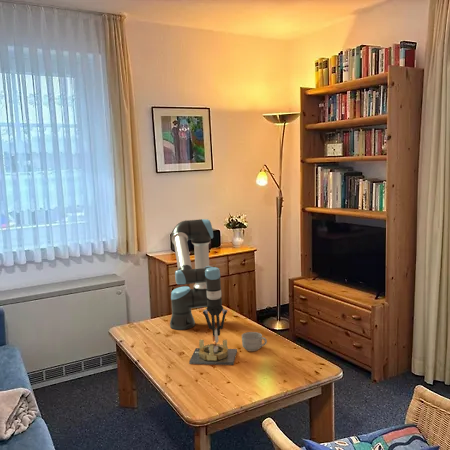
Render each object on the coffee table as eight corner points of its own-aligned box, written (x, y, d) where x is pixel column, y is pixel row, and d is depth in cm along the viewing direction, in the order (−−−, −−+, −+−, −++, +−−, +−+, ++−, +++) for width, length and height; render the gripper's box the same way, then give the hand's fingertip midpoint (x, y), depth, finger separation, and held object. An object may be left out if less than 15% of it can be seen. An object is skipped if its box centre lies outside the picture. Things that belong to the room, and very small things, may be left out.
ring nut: (201, 348, 252) (201, 334, 251) (229, 348, 250) (228, 335, 249) (197, 360, 238) (196, 346, 237) (226, 360, 236) (225, 346, 235)
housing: (195, 350, 254) (195, 340, 253) (237, 351, 250) (236, 341, 250) (189, 364, 238) (188, 353, 237) (233, 365, 235) (232, 354, 234)
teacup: (238, 349, 253) (237, 335, 252) (251, 343, 261) (250, 329, 259) (258, 356, 243) (258, 341, 242) (271, 349, 251) (271, 335, 250)
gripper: (200, 300, 243) (203, 344, 246) (225, 299, 241) (228, 344, 245) (202, 295, 250) (205, 338, 254) (227, 295, 249) (229, 338, 252)
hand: (216, 341), depth 249 cm, fingers closed
